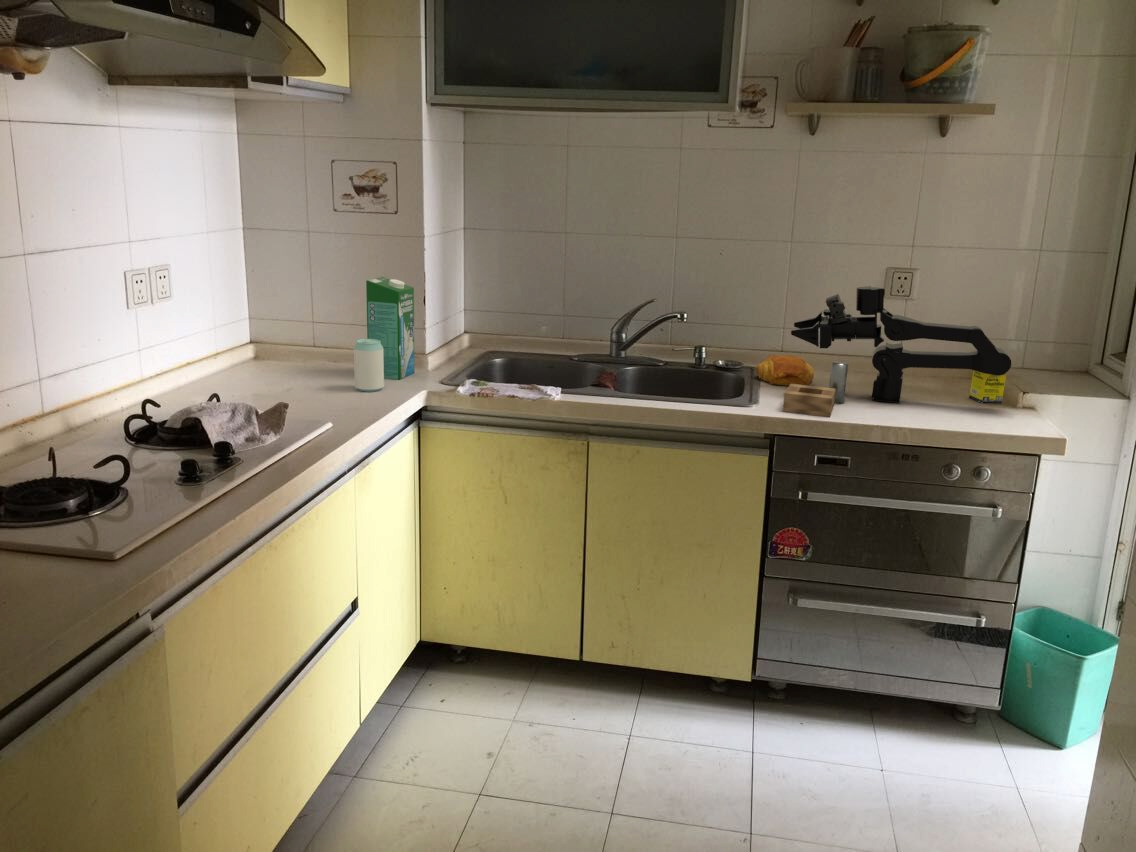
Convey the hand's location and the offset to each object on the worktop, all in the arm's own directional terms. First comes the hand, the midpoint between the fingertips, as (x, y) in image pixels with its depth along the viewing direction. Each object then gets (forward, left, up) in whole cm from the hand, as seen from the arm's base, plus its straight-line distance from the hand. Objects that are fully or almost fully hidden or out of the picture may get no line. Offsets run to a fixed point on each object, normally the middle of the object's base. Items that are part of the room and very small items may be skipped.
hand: (792, 328), depth 247 cm
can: (+95, +51, -16) cm, 109 cm away
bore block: (-8, +19, -16) cm, 26 cm away
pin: (-13, +8, -16) cm, 22 cm away
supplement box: (-49, -13, -16) cm, 53 cm away
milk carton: (+98, +35, -16) cm, 105 cm away
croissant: (+2, -10, -17) cm, 19 cm away
